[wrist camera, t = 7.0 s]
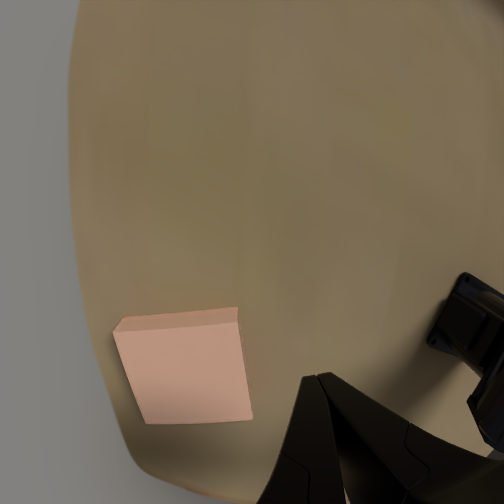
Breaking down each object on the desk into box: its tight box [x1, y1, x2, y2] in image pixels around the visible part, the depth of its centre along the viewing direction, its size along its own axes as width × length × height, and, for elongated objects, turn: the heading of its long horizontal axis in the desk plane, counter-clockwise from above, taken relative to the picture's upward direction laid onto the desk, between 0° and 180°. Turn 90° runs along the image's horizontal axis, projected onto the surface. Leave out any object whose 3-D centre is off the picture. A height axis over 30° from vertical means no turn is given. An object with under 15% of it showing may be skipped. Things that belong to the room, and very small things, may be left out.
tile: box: [113, 306, 253, 424], centre depth 21 cm, size 3×8×8 cm
